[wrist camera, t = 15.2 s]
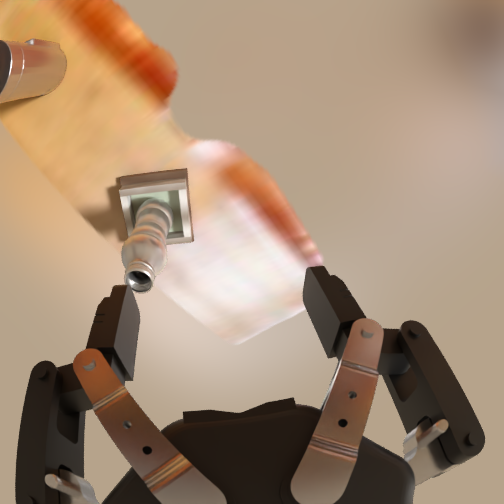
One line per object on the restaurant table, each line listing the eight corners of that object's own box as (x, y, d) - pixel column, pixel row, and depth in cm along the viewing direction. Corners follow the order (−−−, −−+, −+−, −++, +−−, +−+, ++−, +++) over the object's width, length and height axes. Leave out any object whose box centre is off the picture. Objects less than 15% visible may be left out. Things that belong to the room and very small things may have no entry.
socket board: (121, 176, 44) (115, 183, 41) (187, 168, 46) (186, 174, 43) (134, 244, 52) (131, 254, 49) (193, 238, 54) (193, 248, 51)
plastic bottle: (152, 233, 50) (136, 309, 34) (132, 205, 46) (102, 273, 30) (181, 217, 49) (175, 290, 33) (161, 187, 46) (142, 249, 29)
